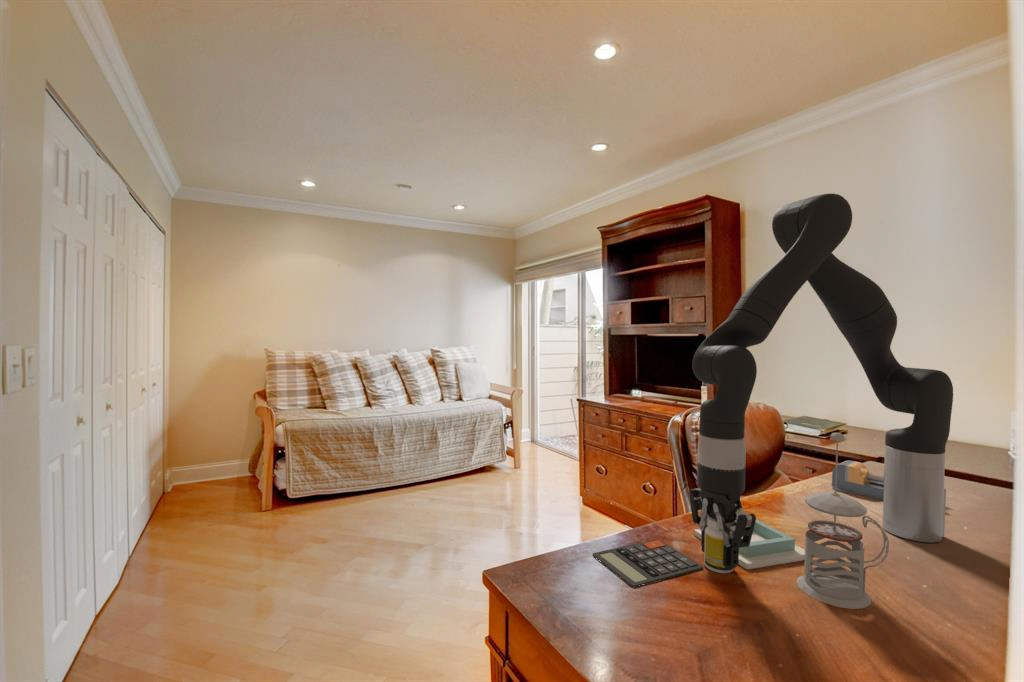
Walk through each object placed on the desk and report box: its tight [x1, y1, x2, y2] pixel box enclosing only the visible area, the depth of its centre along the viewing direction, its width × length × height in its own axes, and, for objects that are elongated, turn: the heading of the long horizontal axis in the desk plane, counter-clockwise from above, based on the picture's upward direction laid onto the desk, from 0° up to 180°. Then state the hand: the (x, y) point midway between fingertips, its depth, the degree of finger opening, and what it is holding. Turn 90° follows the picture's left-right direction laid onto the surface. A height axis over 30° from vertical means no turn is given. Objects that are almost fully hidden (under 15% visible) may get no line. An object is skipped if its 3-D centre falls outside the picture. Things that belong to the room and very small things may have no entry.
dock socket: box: [693, 518, 805, 570], centre depth 90 cm, size 14×14×3 cm
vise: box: [831, 460, 884, 501], centre depth 117 cm, size 18×10×7 cm, turn 39°
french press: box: [796, 432, 890, 610], centre depth 74 cm, size 10×12×25 cm
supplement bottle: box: [703, 516, 735, 574], centre depth 82 cm, size 5×5×8 cm
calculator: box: [592, 538, 704, 588], centre depth 84 cm, size 12×1×15 cm
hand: (718, 559), depth 82 cm, fingers closed on supplement bottle, 4 cm apart
